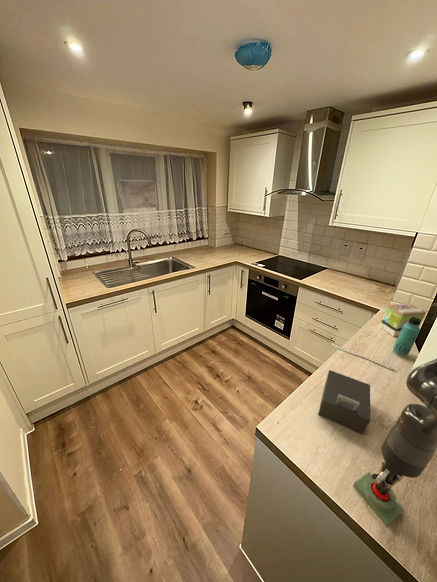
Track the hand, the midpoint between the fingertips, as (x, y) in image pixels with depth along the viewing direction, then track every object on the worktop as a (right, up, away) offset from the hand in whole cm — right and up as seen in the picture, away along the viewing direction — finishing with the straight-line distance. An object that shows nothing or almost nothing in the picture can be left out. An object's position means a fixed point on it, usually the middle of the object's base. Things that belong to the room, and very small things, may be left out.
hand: (381, 489), depth 58 cm
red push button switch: (0, -4, +2) cm, 4 cm away
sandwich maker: (+4, +8, +26) cm, 28 cm away
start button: (0, -2, +1) cm, 2 cm away
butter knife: (+26, +19, +52) cm, 61 cm away
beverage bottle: (+47, +19, +55) cm, 75 cm away
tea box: (+60, +27, +73) cm, 99 cm away
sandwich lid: (+4, +13, +23) cm, 27 cm away
